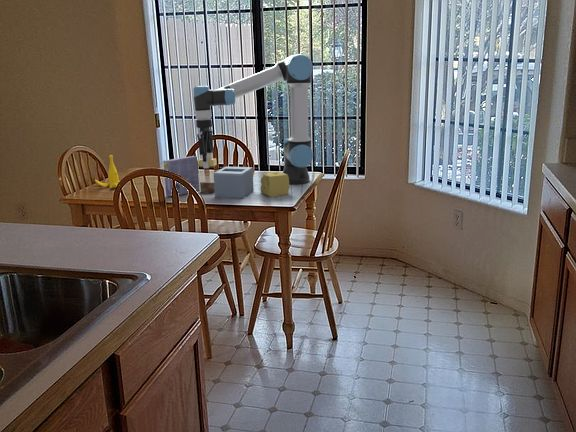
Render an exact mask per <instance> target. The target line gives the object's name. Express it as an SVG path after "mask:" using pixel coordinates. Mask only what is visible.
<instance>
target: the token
mask: <svg viewBox="0 0 576 432" xmlns="http://www.w3.org/2000/svg"><path fill="white" fill-rule="evenodd" d="M197 162H198V167H203V160H202V158H200V159H197ZM217 162H218V161H217V158H212V159H208V163H209V167H215V166H217V164H218V163H217Z"/></svg>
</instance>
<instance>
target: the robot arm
mask: <svg viewBox="0 0 576 432" xmlns="http://www.w3.org/2000/svg"><path fill="white" fill-rule="evenodd" d="M313 68H314V67H313V62H312V60H311V59H310V57H308V56H307V55H305V54H302V53H297V54H293V55H290V56H288V57H286V58H285V59H283V60H280V61H279V62H276V63H275V65H274V66H272V67H270V68H269V67H268V68H266V69H264V70H261V71H260V72H257V73H253V74H252V75H250V76H247V77H244V78H242V79H240V80H239V79H238V80H237V81H234V82H232V83H229V84H228V85H225V86H222V87H219V88H216V89H210V86H208V85H196V86H194V87H193V89H192V91H193V101H194V102H193V103H194V115H195V119H196V120H195V122H196V123H195V124H196V129H197V128H198V129H199V133H197V134H196V136H197V142H198V152H199V155H200V156H201V159H202V160H203V166H202V169H209V168H210V166H209V163H208V159H213V154H212V153H214V141H213V130H211V128H212V127H213V119H212V118H213V117H212V108H211V107H214V106H215V107H216V106H231V105H235V104H236V99H238V98H240V97H242V96H245V95H247V94H250V93H253V92H256V91H257V90H260V89H263V88H265V87H269V86H271V85H273V84H275V83H277V82H282V83H283V82H284V83H285V81H286V84H287V85H288V86H289V89H290V91H289V93H290V94H289V97H290V98H289V99H290V101H289V103H290V106H289V107H290V137H289V138H284V140H283V157H284V158H283V170H282V173H285V174H288V177H289V185H291V184H292V185H295V184H296V185H297V184H298V185H299V184H306V183H309V182H310V181H311V180H310V179H311V178H310V174H309V171H308V168H307V167H308V166H309V165H310V164H311V162H313V159H314V152H313V150H312V139H311V137H310V136H309V88H308V87H309V86H310V84H311V83H312V73H313V70H314V69H313Z"/></svg>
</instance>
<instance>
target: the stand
mask: <svg viewBox="0 0 576 432" xmlns="http://www.w3.org/2000/svg"><path fill="white" fill-rule="evenodd" d="M199 189H200V193H211V194H212V193H213V194H215V188H214V180H211V181H208V180H201V181H199Z"/></svg>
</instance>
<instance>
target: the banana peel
mask: <svg viewBox="0 0 576 432" xmlns="http://www.w3.org/2000/svg"><path fill="white" fill-rule="evenodd" d="M113 157H114V155H112V154H109V156H108V158H109V167H108V175H107V177H108V178H107V180H108V182H106V183H105V182H101V181H99V180H98V179H95V180H94V181H95V182H96V183H97V184H98V185H99V186H101V187H104V188H105V187H106V188H108V187H109V189H117V188H116V186H117V184H118V182H120V178H119V174H118V171H117V168H116V166H115V163H114V160H113V159H114V158H113Z"/></svg>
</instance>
